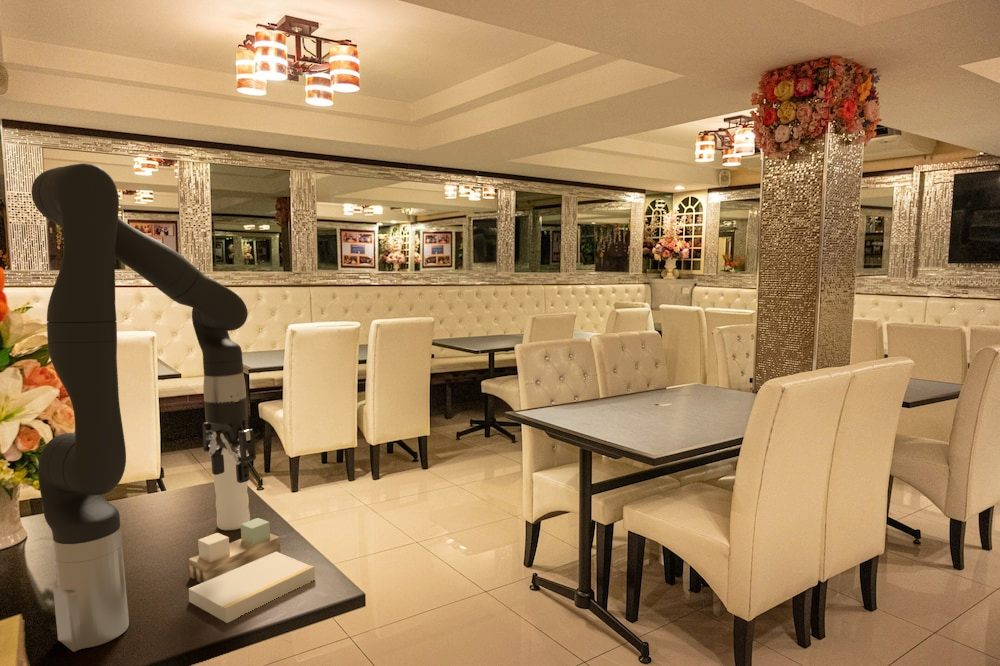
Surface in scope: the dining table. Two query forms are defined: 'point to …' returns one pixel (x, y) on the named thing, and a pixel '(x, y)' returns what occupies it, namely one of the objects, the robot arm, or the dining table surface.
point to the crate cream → (213, 547)
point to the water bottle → (230, 496)
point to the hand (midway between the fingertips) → (230, 477)
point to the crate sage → (255, 531)
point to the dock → (250, 586)
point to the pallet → (232, 558)
